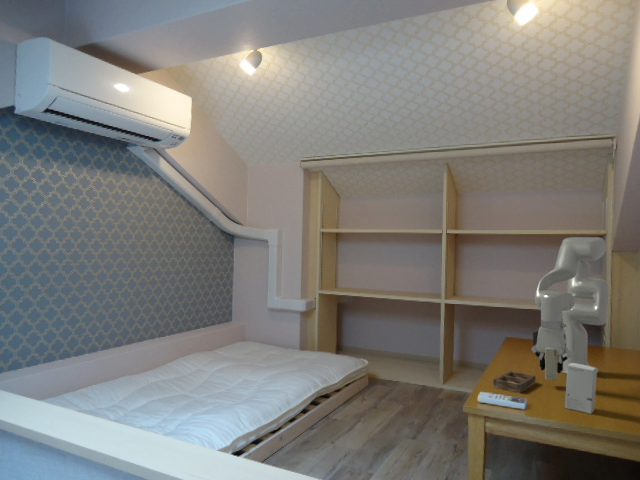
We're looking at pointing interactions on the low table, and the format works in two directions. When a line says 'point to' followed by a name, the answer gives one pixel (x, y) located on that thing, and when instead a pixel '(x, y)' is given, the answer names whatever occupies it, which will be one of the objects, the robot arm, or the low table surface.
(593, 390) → the skincare box
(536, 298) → the robot arm
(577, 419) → the low table surface
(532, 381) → the two-compartment wooden shelf
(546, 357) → the skincare box
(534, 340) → the pen holder
